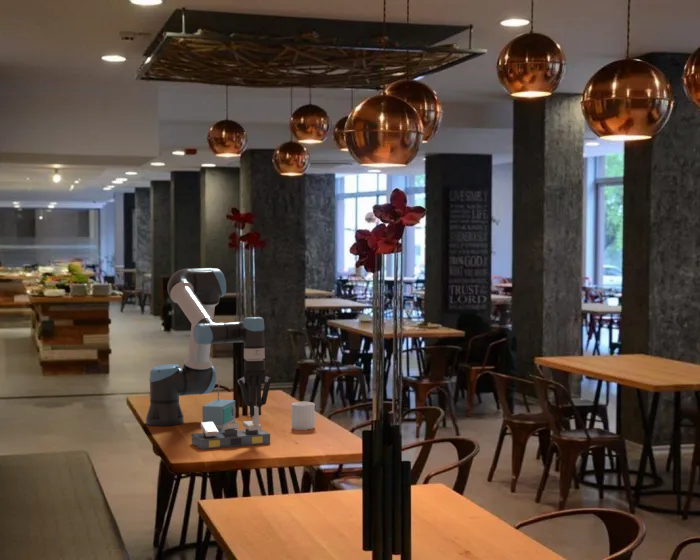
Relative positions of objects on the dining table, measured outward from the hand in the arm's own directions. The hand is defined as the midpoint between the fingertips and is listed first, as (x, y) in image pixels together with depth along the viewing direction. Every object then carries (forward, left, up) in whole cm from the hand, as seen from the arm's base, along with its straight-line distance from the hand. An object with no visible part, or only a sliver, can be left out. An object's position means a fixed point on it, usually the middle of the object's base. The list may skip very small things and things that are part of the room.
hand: (255, 424), depth 366 cm
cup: (-22, +27, -7) cm, 36 cm away
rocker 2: (-4, -8, -1) cm, 9 cm away
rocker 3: (-4, 0, -1) cm, 5 cm away
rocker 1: (-4, -16, -1) cm, 17 cm away
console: (-4, -8, -7) cm, 12 cm away
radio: (-24, -6, -7) cm, 26 cm away
